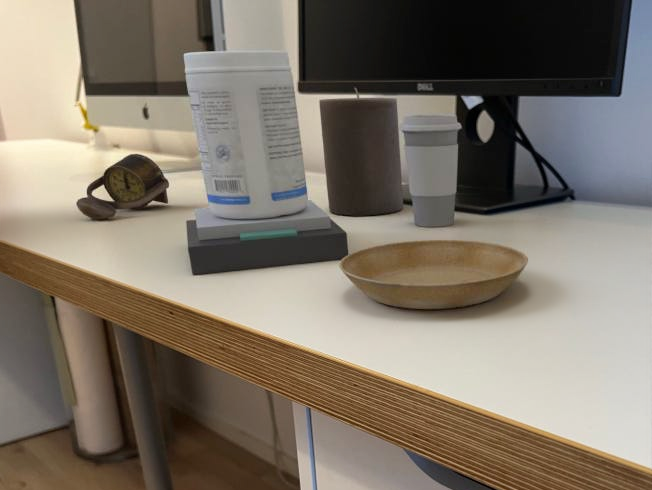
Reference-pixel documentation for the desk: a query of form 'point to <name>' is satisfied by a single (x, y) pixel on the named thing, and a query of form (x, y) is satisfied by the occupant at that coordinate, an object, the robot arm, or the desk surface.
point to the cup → (432, 166)
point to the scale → (263, 240)
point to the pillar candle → (362, 155)
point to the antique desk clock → (126, 187)
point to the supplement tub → (247, 132)
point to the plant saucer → (433, 272)
